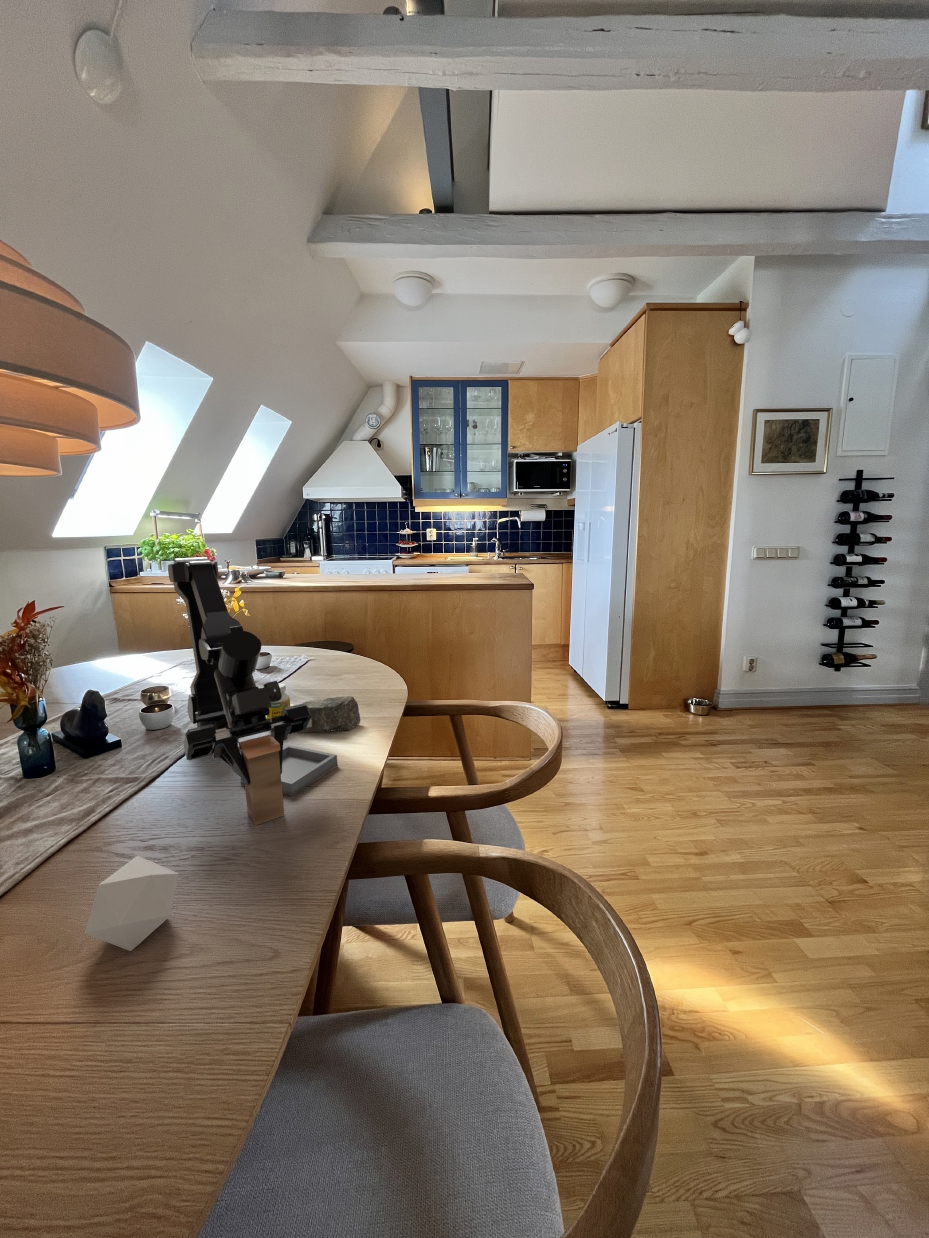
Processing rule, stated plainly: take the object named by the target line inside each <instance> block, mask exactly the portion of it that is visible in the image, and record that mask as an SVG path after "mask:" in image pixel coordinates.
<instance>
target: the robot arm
mask: <svg viewBox="0 0 929 1238" xmlns="http://www.w3.org/2000/svg"><path fill="white" fill-rule="evenodd" d="M218 564H219V563H218V561H211V560H209V558H208V557H207V556H204V557H201V556H200V557H185V558H183V557H180V558H178V557H177V558H173V563H169V564H168V565H167V574H168V578H169V581H170V583H173V588H174V591H175V593H176V594H177V595H178V596H179V597H180V599H181V600H183V602H184V603H185V608H186V614H187V620H188V621H187V622H188V625H189V632H190V638H191V644H192V645H191V646H192V652H193V658H194V662H195V663H194V664H195V669H196V673H195V675H194V676H193V679H192V682H191V684H190V688H189V689H190V694H189V695H188V700H187V706H186V707H187V714H188V719H189V720H190V722H191V723H192V725H196V727H193V728H188V730H187V731H186V732H185V734H184V740H183V741H184V742H183V749H184V755H185V758H186V760H187V761H192V760H197V759H200V758H206V757H208V756H210V754H211V753H212V758H213V760H214V759H215V760H216V759H220V760H222V761H223V762H224V763H225V764H226V765H228V766H229V768H231V769H232V770H233V771H234V772H235V773H236V775H238V776H239V778H241V779H242V780H243V781H244V782H245V783H246V784H247V785H249V784H250V778H249V774H248V770H247V768H246V765H245V763H244V760H243V758H242V754H241V750H240V749H239V742H240V741H239V740H240V739H242V738H247V737H250V736H255V735H259V734H262V733H267V732H269V735H271V736H272V737H273V738H274V739H275V740H276V741H277V742H278V743H279V744H280V750H279V760H280V771H281V774H282V759H283V747H284V742H285V741H286V740H288V738H289V736H290V735H294V734H297V733H301V732H304V730H305V729H306V727H307V725H308V723H309V721H310V719H311V717H312V715H311V712H310V709H309V707H308V706H306V705H305V704H302V703H299V704H295V705H290V707H285V708H283V711H282V714H281V716H279V717H275V718H271V719H267V718H266V715H269V713H270V710H269V707H272V705H271V703H272V702H277V701H279V700H281V698H282V695H281V690H280V687H279V684H278V683H279V682H278V680H273V681H267V682H265V683H264V684H263V687H260V688H259V686H257V685H256V680H255V678H254V675H253V673H254V672H256V669H257V665H258V661H259V657H260V654H261V651H262V642H261V640H260V638H259V637H258V636H257V635H256V634H254V633H252V632H250V631H247V630H244V628H243V625H241V622H240V620H237V619H236V618H235V617H233V616H231V615H230V613H229V610H228V607H227V604H226V601H225V599H224V595H223V592H222V590H221V586H220V584H219V581H218V580H220V574H219V565H218ZM245 783H244V784H245Z"/></svg>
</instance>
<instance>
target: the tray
mask: <svg viewBox="0 0 929 1238" xmlns="http://www.w3.org/2000/svg"><path fill="white" fill-rule="evenodd" d="M336 767H338V755H337V754H335V753H329V752H324V751H320V750H316V749H310V748H306V747H303V746H302V747H300V746H297V745H296V746H295V745H292V744H287V745H284V746H283V759H282V774H281V783H282V794H283V795H284V794H285V795H287V796H292V797H294V796H295V795H296V794H298V793H299V792H301V791H302V790H304V789H305V788H307V787H308V786H310V785H311V784H313V783H314V782H316V781H317V780H319V779H320V778H321V777H324V776H325V775H326V774H328V772H330V771H332V770H334V769H335V768H336ZM239 778H240V777H239ZM240 783H242V784H245V783H244V781H243V780H242V779H241V778H240Z"/></svg>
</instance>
